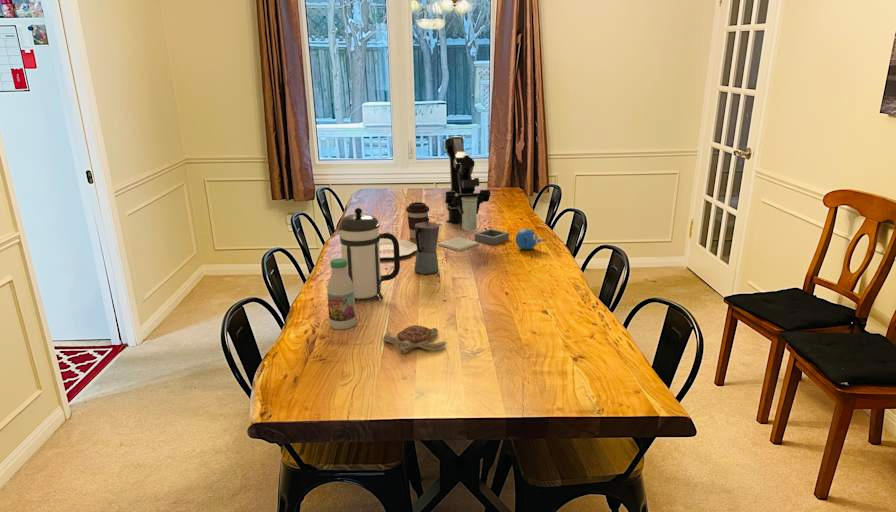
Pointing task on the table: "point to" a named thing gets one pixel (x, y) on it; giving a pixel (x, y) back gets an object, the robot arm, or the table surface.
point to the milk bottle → (341, 296)
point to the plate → (404, 248)
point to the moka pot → (426, 247)
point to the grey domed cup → (469, 213)
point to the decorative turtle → (414, 338)
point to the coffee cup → (416, 215)
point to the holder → (491, 236)
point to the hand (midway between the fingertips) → (469, 213)
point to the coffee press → (365, 253)
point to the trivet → (458, 243)
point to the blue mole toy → (527, 239)
